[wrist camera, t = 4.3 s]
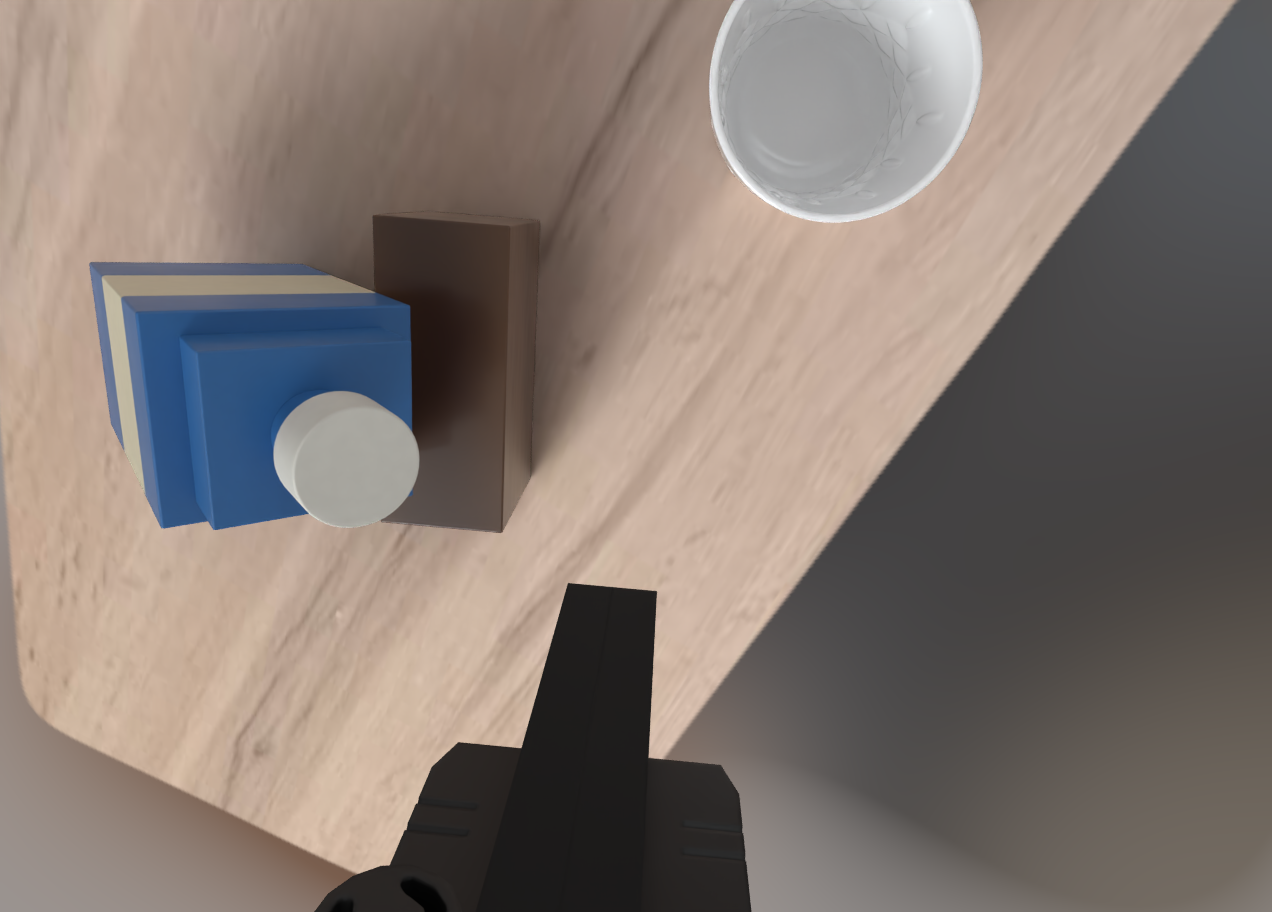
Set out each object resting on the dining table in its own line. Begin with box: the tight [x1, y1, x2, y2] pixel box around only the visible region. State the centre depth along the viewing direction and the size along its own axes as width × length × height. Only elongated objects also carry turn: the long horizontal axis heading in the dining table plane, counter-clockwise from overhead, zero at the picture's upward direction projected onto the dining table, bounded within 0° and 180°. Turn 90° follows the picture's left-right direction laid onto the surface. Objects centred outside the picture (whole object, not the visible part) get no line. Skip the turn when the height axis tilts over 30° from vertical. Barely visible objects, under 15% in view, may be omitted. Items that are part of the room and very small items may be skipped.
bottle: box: [89, 262, 419, 530], centre depth 28 cm, size 16×7×17 cm, turn 86°
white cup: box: [709, 0, 983, 223], centre depth 28 cm, size 8×8×10 cm
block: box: [373, 211, 540, 533], centre depth 34 cm, size 5×12×6 cm, turn 176°
